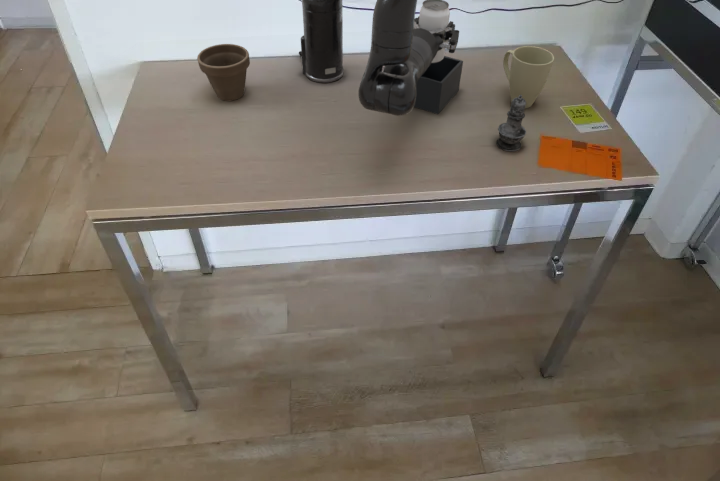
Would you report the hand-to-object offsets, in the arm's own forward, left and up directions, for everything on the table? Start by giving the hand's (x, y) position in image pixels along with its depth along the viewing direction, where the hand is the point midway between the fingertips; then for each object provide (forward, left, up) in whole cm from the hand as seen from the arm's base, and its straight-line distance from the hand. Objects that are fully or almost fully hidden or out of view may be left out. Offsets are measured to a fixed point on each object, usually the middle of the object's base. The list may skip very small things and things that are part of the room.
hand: (435, 23), depth 124 cm
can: (0, -2, -7) cm, 8 cm away
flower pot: (-40, -26, -17) cm, 51 cm away
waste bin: (0, -2, -17) cm, 17 cm away
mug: (+20, +7, -17) cm, 27 cm away
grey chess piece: (+24, -11, -17) cm, 32 cm away
